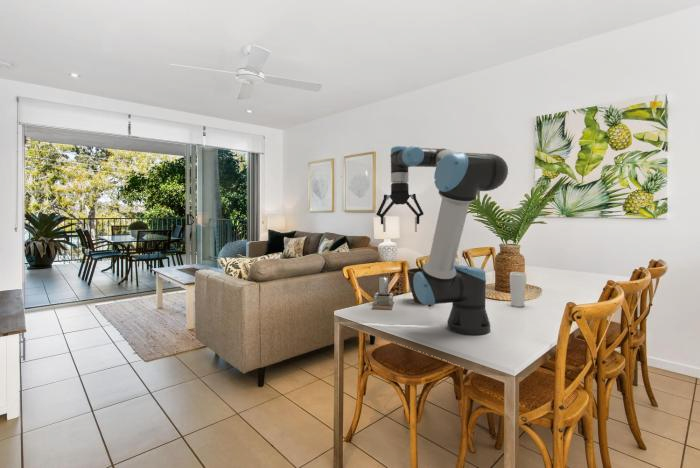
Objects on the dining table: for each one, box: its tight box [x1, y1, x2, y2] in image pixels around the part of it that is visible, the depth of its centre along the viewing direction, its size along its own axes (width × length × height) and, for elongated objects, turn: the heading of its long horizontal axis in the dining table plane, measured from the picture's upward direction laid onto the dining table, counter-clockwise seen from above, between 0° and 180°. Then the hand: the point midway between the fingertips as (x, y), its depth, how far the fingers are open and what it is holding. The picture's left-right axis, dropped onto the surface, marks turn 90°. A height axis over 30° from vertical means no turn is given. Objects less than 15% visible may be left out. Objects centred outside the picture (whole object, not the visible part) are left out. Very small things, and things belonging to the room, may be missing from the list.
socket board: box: [370, 292, 395, 311], centre depth 166 cm, size 15×9×5 cm, turn 169°
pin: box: [378, 276, 389, 296], centre depth 169 cm, size 4×4×12 cm
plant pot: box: [406, 267, 433, 307], centre depth 171 cm, size 15×15×16 cm
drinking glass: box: [509, 271, 527, 308], centre depth 166 cm, size 7×7×15 cm
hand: (400, 232), depth 160 cm, fingers open, 13 cm apart
